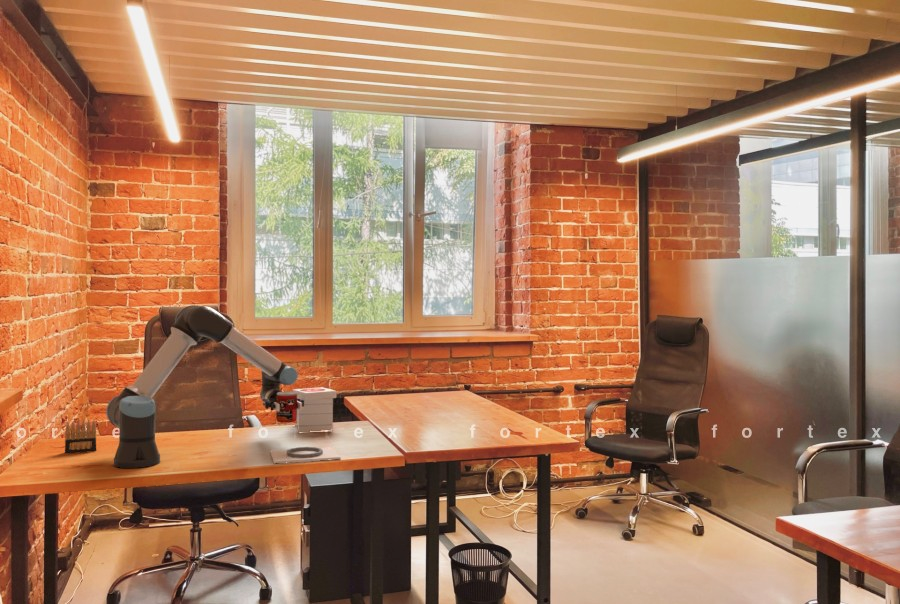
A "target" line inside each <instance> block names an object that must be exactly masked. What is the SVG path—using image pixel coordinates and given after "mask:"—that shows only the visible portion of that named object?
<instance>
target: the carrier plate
mask: <svg viewBox="0 0 900 604" xmlns="http://www.w3.org/2000/svg"><path fill="white" fill-rule="evenodd" d="M269 454H270V457H271V460H272V462H274V463H273V465H276V464H275V463H284V464H291V463H290V462H299V463H311V461H314V462H321V461H320V460H328V459H341V458H342V456H341V455H340V454H339V453H338V452H337V451H336V449H335V448H334V447H333V446H328V447H316V446H315V447H314V446H302V447H301V446H300V447H294V448H290V449H280V450H279V449H278V450H269ZM286 462H287V463H286ZM288 462H289V463H288Z"/></svg>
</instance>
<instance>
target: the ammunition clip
mask: <svg viewBox="0 0 900 604" xmlns="http://www.w3.org/2000/svg"><path fill="white" fill-rule="evenodd" d="M86 423H87V424H86ZM91 423H92V424H91ZM96 425H97V424H96V421H95V419H93V420H92V422H91V421H90V419H88V420H87V422H85V420H82V423H80V421H79V420H77V423H76V424H75V422H74V420H73V421H72V422H71V425H70V422H69V421H67V422H66V425H65V426H66V427H65V433H64V435H65V436H64V437H65V438H64V454H65V453H67V454H76V452H80V453H88V452H87V451H92V452H97V428H96V427H97V426H96ZM70 426H71V427H70Z"/></svg>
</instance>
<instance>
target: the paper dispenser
mask: <svg viewBox="0 0 900 604" xmlns="http://www.w3.org/2000/svg"><path fill="white" fill-rule="evenodd" d="M292 392H297V398H298V399H302V400H304V407H302V410H299V409H297V419H296V423H297V424H296V425H297V426H298V427H297V432H298V431H299V432H310V431H321V430H331V429H333V426H334V424H333V421H334V419H333V418H334V417H333V416H334V412H333V411H334V410H333V409H334V408H333V407H334V399H336V398H337V390H334V389H331V388H328V387H327V388H326V387H310V388H309V387H307V388H295V389H292Z"/></svg>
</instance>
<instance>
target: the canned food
mask: <svg viewBox="0 0 900 604" xmlns="http://www.w3.org/2000/svg"><path fill="white" fill-rule="evenodd" d="M277 403H278V404H280V411H276V410H275V411H276V412H275V413H276V416H275V417H276V418H275V419H276V422H278V423H284V424H285V423H294V422H297V420H296V419H297V392H293V391H291V390H290V391H282V392H278V393H277Z"/></svg>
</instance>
